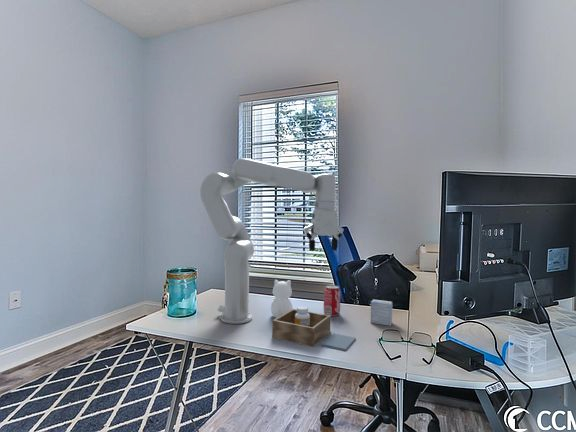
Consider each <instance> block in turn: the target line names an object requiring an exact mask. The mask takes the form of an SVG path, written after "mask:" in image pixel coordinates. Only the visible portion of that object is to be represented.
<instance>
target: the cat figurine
mask: <svg viewBox="0 0 576 432" xmlns="http://www.w3.org/2000/svg"><path fill="white" fill-rule="evenodd" d="M273 284H274V286H273V288H272V294H273V297H274V299H273V300H272V302H271V305H270V311H271V315H272V316H273V317H274V319H276V318H278V317H279V316H281V315H283V314H285V313H287V312H288V311H290V310H292V309H293V304H292V302H291V300H290V297H291V296H292V295H293V290H292V287H291V285H292V282H291V280H290V279H288V280H287V281H283V280H282V281H279V280H278V279H275V280H274V283H273Z"/></svg>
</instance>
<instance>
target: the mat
mask: <svg viewBox="0 0 576 432" xmlns="http://www.w3.org/2000/svg"><path fill="white" fill-rule="evenodd" d="M356 340H357V339H356V337H355V336H349V335H344V334H340V333H339V334H338V333H332V335H330V336H329V337H328V338H327V339H326V340H324V342H322V344H321V345H322V346H323V347H326V348H331V349H336V350H340V351H344V352H346V351H347V350H348V349H349V348H350V346H351V345H352V344H353V343H354V342H355V341H356Z"/></svg>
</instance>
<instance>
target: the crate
mask: <svg viewBox="0 0 576 432" xmlns="http://www.w3.org/2000/svg"><path fill="white" fill-rule="evenodd" d="M296 313H298V312H297V308H296V309H295V308H292V310H290V311H288V312H287V313H285V314H283V315H281V316H279V317H278V318H274V319H273V320H272V323H271V324H272V325H271V327H272V329H271V330H272V331H271V333H272V334H271V338H273V339H279V340H282V341H287V342H290V343H295V344H300V345H305V346H308V347H312V348H313V347H315V346H316V345H317V344H318V343H320V342H321V341H322V340H323V339H324V338H325V337H326V336H327V335H328V334H330V333H331V319H332V318H331V317H332V316H330V315H326V314H325V313H324V314H323V313H317V312H312V311H308V312H307V313H308V314H309V315H310V327H308V326H303V325H298V324H295V314H296Z"/></svg>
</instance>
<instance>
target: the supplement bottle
mask: <svg viewBox="0 0 576 432" xmlns="http://www.w3.org/2000/svg"><path fill="white" fill-rule="evenodd" d="M296 310H297V312H298V313H296V314H295V324H298V325H303V326H308V327H310V315H309V314H308V313H307V312H309V308H308V307H307V306H305V305H304V306H302V305H299V306H297V308H296Z"/></svg>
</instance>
